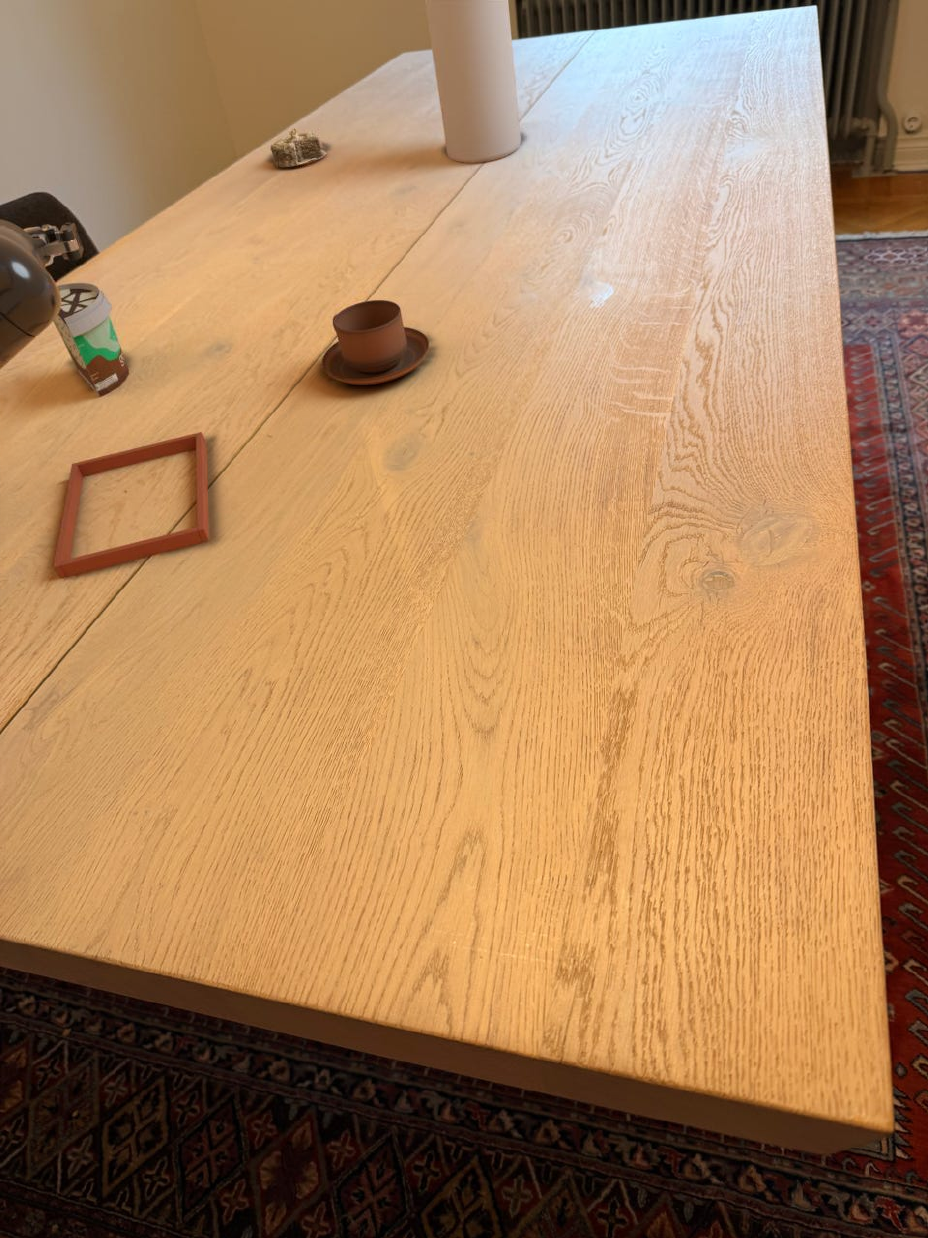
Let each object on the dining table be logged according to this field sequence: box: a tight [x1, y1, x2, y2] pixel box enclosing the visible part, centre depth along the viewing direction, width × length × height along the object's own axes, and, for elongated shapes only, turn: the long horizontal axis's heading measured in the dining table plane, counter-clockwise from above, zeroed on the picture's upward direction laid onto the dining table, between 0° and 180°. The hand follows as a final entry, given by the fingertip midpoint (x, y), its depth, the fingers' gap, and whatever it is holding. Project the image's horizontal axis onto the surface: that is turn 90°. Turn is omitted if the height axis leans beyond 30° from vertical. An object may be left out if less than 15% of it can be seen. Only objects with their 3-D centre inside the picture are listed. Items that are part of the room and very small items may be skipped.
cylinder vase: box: [424, 0, 522, 164], centre depth 144 cm, size 12×12×25 cm
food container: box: [52, 282, 130, 398], centre depth 107 cm, size 12×6×10 cm, turn 34°
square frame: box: [53, 431, 210, 580], centre depth 86 cm, size 13×17×2 cm
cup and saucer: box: [321, 299, 430, 386], centre depth 99 cm, size 12×12×6 cm
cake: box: [270, 128, 328, 168], centre depth 163 cm, size 10×10×5 cm
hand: (6, 244), depth 91 cm, fingers open, 8 cm apart
